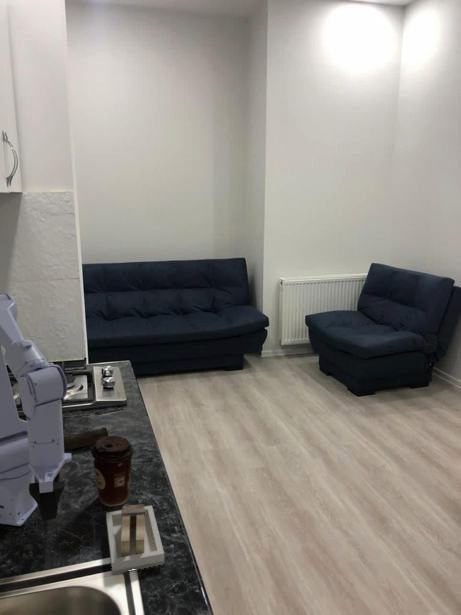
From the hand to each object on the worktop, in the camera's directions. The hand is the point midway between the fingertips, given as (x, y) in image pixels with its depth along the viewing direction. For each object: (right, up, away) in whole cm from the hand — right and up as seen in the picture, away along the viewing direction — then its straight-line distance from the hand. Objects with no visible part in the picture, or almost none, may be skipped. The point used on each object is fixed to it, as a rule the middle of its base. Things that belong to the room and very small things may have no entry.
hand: (50, 504), depth 90 cm
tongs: (+14, -8, +4) cm, 17 cm away
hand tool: (-8, -1, +36) cm, 37 cm away
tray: (+14, -9, +5) cm, 17 cm away
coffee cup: (+7, -6, +18) cm, 20 cm away
